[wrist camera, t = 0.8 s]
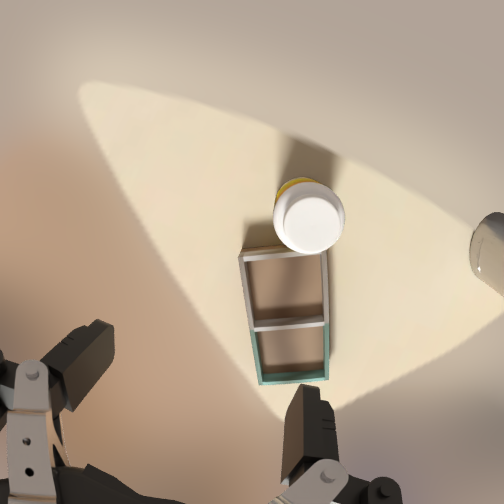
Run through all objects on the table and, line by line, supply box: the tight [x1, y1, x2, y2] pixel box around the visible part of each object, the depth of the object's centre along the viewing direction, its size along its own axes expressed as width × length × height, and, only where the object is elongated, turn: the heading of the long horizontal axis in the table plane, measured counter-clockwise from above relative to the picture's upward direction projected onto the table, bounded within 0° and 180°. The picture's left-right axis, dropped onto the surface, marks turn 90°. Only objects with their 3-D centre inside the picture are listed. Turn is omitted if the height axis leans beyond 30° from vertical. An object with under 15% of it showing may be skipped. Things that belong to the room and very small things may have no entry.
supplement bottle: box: [273, 177, 345, 254], centre depth 24 cm, size 6×6×10 cm
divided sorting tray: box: [238, 245, 329, 385], centre depth 32 cm, size 8×16×3 cm, turn 8°
